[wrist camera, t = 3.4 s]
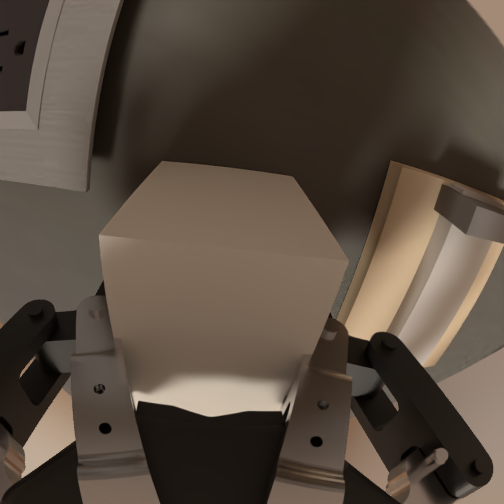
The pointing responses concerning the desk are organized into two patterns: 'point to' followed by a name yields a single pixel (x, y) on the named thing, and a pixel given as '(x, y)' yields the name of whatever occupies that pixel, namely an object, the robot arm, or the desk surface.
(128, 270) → the white rectangular block
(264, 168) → the desk surface
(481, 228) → the rail board
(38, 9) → the electrical outlet
